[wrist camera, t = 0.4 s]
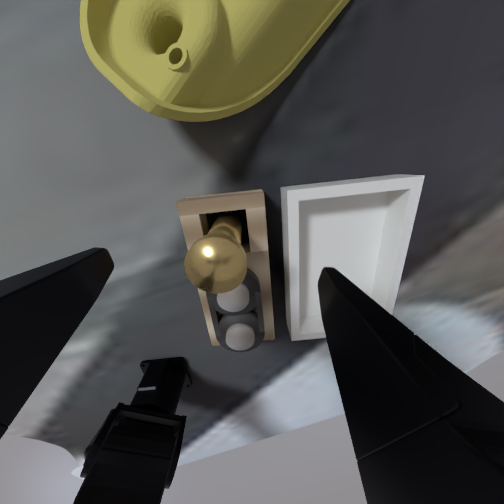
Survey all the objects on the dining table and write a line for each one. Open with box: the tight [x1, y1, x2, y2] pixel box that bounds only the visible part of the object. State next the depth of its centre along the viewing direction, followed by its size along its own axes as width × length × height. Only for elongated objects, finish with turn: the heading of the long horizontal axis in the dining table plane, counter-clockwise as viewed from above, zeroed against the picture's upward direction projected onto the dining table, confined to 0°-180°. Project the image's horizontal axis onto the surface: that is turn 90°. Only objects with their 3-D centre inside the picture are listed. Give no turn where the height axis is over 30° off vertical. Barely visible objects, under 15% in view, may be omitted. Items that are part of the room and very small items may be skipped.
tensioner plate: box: [176, 189, 275, 352], centre depth 21 cm, size 18×8×5 cm, turn 6°
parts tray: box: [281, 174, 425, 341], centre depth 22 cm, size 18×12×4 cm, turn 6°
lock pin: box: [184, 212, 247, 294], centre depth 17 cm, size 4×4×10 cm
